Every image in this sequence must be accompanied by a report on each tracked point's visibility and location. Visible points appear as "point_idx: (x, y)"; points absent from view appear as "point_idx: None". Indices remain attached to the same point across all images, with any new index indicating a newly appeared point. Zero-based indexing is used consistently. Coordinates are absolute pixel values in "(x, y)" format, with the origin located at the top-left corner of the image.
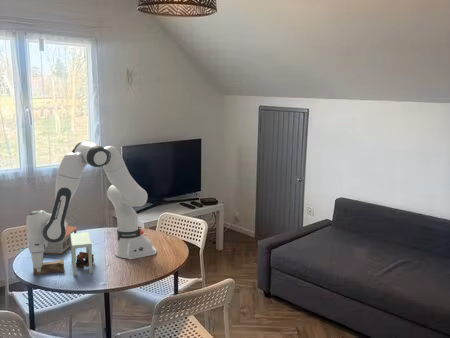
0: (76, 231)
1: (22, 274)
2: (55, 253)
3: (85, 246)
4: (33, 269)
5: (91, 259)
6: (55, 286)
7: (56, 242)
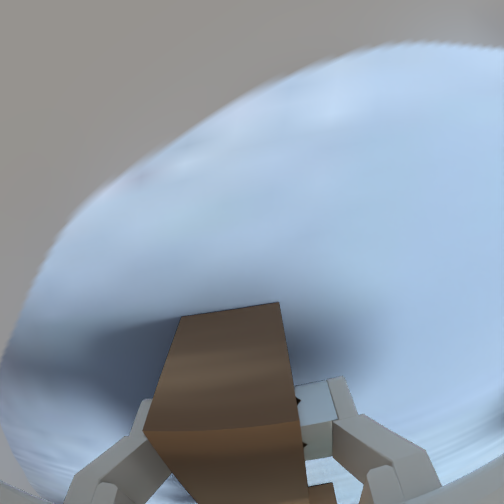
0: None
1: (221, 128)
2: None
3: None
4: (161, 376)
5: None
6: (12, 444)
7: None
